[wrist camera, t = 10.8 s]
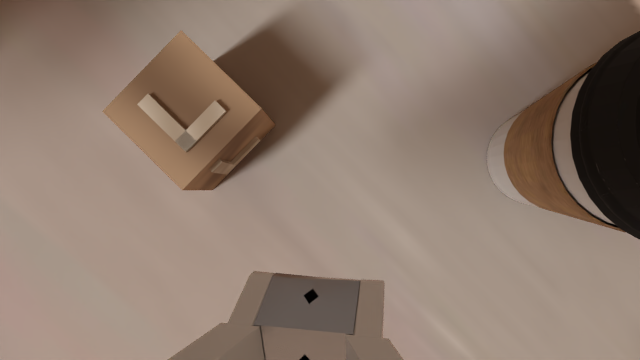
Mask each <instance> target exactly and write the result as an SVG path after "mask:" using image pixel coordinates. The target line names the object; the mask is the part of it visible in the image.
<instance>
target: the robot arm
mask: <svg viewBox="0 0 640 360" xmlns="http://www.w3.org/2000/svg"><path fill="white" fill-rule="evenodd" d="M383 316H384V281H380V280H355V279H340V278H325V277H313V276H302V275H292V274H282V273H268V272H257V271H254V272H253V273H252V274H251V275H250V276H249V278H248V280H247V282H246V285H245V287H244V289H243V291H242V293H241V295H240V297H239V300H238V302H237V304H236V306H235V308H234V310H233V313H232V315H231V317H230V319H229V321H228V323H220V324H219V325H217V326H216V327H214V328H213V329H212V330H210V331H209V332H207V333H206V334H204V335H203V336H201V337H200V338H199V339H197V340H196V341H194V342H193V343H191V344H190V345H188V346H187V347H186V348H184V349H183V350H181V351H180V352H178V353H177V354H175V355H174V356H173V357H171V358H170V359H168V360H403V359H402V357H401V356H400V354H399V353H398V351H397V350H396V349H395V347H394V346H393V344H392V343H391V342H390V340H389V339H385V338H383Z"/></svg>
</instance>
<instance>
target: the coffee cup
mask: <svg viewBox="0 0 640 360" xmlns="http://www.w3.org/2000/svg"><path fill="white" fill-rule="evenodd" d="M487 167H488V170H489V174H490V176H491V178H492V180H493V182H494V184H495V185H496V186H497V187H498V189H499V190H500V191H501V192H502V193H504V194H505V195H506V196H507V197H509V198H511V199H513V200H515V201H517V202H521V203H524V204H528V205H532V206H536V207H540V208H543V209H547V210H550V211H553V212H557V213H560V214H564V215H567V216H570V217H574V218H577V219H581V220H584V221H588V222H591V223H595V224H598V225H602V226H605V227H608V228H612V229H615V230H619V231H622V232H627V233H629V234H631V235H632V236H634V237H636V238H638V239H640V31H639V32H637V33H635V34H633V35H631V36H630V37H628V38H626V39H624V40H622V41H620V42H619V43H618V44H617V45H615V46H614V47H613V48H612V49H610V50H609V51H608V52H607V53H605V54H604V55H603V56H602V57H601V59H600V60H599V61H598V62H597V63H595V64H593V65H591V66H589V67H588V68H586V69H585V70H583V71H582V72H580V73H579V74H577V75H576V76H574V77H573V78H571V79H570V80H568V81H567V82H565V83H564V84H562V85H561V86H559V87H558V88H556V89H555V90H553V91H552V92H550V93H549V94H547V95H546V96H544V97H543V98H541V99H540V100H538V101H537V102H535V103H534V104H532V105H531V106H529V107H528V108H527V109H526V110H524V111H523V112H521V113H519V114H517V115H516V116H514V117H512V118H511V119H509V120H508V121H506V122H505V123H504V124H503V125H501V126H500V127H499V129H498V130H497V131H496V132H495V133H494V135H493V137H492V139H491V141H490V143H489V147H488V151H487Z"/></svg>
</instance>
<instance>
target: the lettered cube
mask: <svg viewBox="0 0 640 360" xmlns="http://www.w3.org/2000/svg"><path fill="white" fill-rule="evenodd" d="M103 112H104V113H105V114H106V115H107V116H108V117H109V118H110V119H111V120H112V121H113V122H114V123H115V124H116V125H117V126H118V127H119V128H120V129H121V130H122V131H123V132H124V133H125V134H126V135H127V136H128V137H129V138H130V139H131V140H132V141H133V142H134V143H135V144H136V145H137V146H138V147H139V148H140V149H141V150H142V151H143V152H144V153H145V154H146V155H147V156H148V157H149V158H150V159H151V160H152V161H153V162H154V163H155V164H156V165H157V166H158V167H159V168H160V169H161V170H162V171H163V172H164V173H165V174H166V175H167V176H168V177H169V178H170V179H171V180H172V181H173V182H174V183H175V184H177V185H178V186H179V187H180V188H181V189H182V190H213V189H214V188H215V187H216V186H217V185H218V184H219V183H220V182H221V181H222V180H223V179H224V178H225V177H226V176H227V175H228V174H229V173H230V172H231V171H232V169H233V168H234V167H235V166H236V165H237V164H238V163H239V162H240V161H241V160H242V159H243V158H244V157H245V156H246V155H247V154H248V153H249V152H250V151H251V150H252V149H253V148H254V147H255V146H256V145H257V144H258V143H259V142H260V141H261V140H262V139H263V138H264V137H265V135H266V134H267V133H268V132H269V131H270V130H271V129H272V128H273V127H274V126H275V124H274V122H273V121H272V120H271V119H270V118H269V116H268V115H267V114H266V113H265V112H264V111H263V109H262V108H261V107H260V106H259V105H258V104H257V103H256V102H255V101H254V100H252V99H251V98H250V97H249V96H248V95H247V94H246V93H245V92H244V91H243V90H242V89H241V88H240V87H239V86H238V85H237V84H236V83H235V82H234V81H233V80H232V79H231V78H230V77H229V76H228V75H227V74H226V73H225V72H224V71H223V70H222V69H221V68H219V67H218V66H217V65H216V64H215V63H214V62H213V61H212V60H211V59H210V58H209V57H208V56H207V55H206V54H205V53H204V52H203V51H202V50H201V49H200V48H199V47H198V46H197V45H196V44H195V43H194V42H193V41H192V40H191V39H190V38H189V37H188V36H186V35H185V34H184V33H183V32H182V31H180V32H179V33H178V34H177V35H176V36H175V37H174V38H173V39H172V40H171V41H170V42H169V43H168V44H167V45H166V46H165V47H164V48H163V49H162V50H161V52H160V53H159V54H158V55H157V56H156V57H155V58H154V59H153V60H152V61H151V62H150V63H149V64H148V65H147V66H146V67H145V68H144V69H143V70H142V71H141V72H140V73H139V74H138V75H137V76H136V77H135V78H134V79H133V80H132V81H131V82H130V83H129V84H128V86H127V87H126V88H125V89H124V90H123V91H122V92H121V93H120V94H119V95H118V96H117V97H116V98H115V99H114V100H113V101H112V102H111V103H110V104H109V105H108V106H107V107H106V108H105V109H104V110H103Z"/></svg>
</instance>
